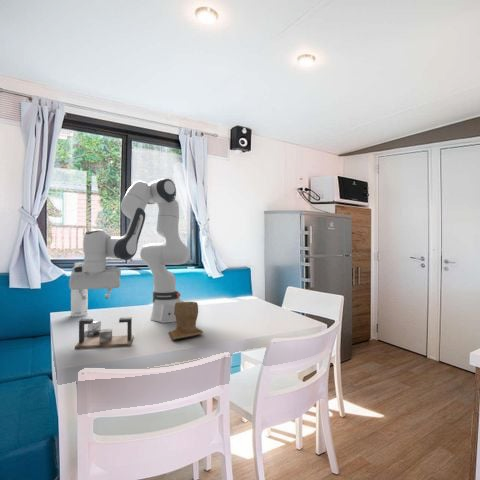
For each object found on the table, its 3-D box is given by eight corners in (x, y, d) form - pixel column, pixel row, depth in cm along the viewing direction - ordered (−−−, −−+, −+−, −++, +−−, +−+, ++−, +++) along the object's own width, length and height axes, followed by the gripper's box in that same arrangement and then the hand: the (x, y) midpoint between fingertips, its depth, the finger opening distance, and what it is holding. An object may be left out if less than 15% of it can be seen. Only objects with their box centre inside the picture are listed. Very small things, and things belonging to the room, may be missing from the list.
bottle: (76, 317, 171) (76, 263, 171) (67, 315, 175) (67, 262, 175) (90, 314, 178) (91, 262, 178) (81, 312, 182) (82, 261, 182)
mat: (107, 331, 147) (107, 330, 147) (103, 337, 138) (103, 336, 138) (85, 332, 145) (85, 330, 145) (80, 338, 136) (80, 337, 136)
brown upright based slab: (192, 330, 151) (192, 297, 151) (206, 336, 142) (206, 301, 141) (161, 335, 141) (162, 301, 141) (174, 343, 132) (175, 306, 132)
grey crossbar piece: (97, 337, 136) (97, 325, 136) (84, 338, 135) (84, 325, 135) (103, 329, 148) (103, 318, 148) (91, 329, 147) (91, 318, 147)
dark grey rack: (133, 337, 139) (133, 315, 139) (130, 346, 128) (130, 321, 128) (82, 339, 135) (82, 316, 135) (74, 349, 124) (74, 323, 124)
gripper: (121, 265, 146) (122, 296, 147) (71, 266, 142) (72, 298, 143) (119, 267, 140) (120, 299, 141) (67, 268, 136) (68, 301, 137)
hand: (95, 299), depth 142 cm, fingers open, 8 cm apart
